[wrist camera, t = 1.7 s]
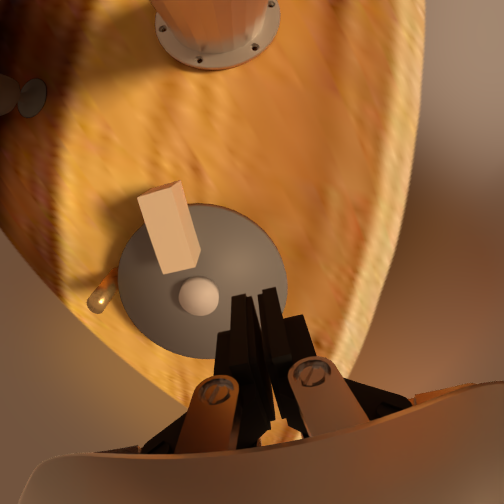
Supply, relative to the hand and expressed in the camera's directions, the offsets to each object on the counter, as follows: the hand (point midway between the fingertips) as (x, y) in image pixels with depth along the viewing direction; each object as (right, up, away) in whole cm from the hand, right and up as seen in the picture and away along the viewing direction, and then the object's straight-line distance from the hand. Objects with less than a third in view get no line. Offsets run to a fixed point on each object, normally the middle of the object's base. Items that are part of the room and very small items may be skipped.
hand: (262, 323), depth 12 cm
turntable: (-6, 0, +20) cm, 21 cm away
